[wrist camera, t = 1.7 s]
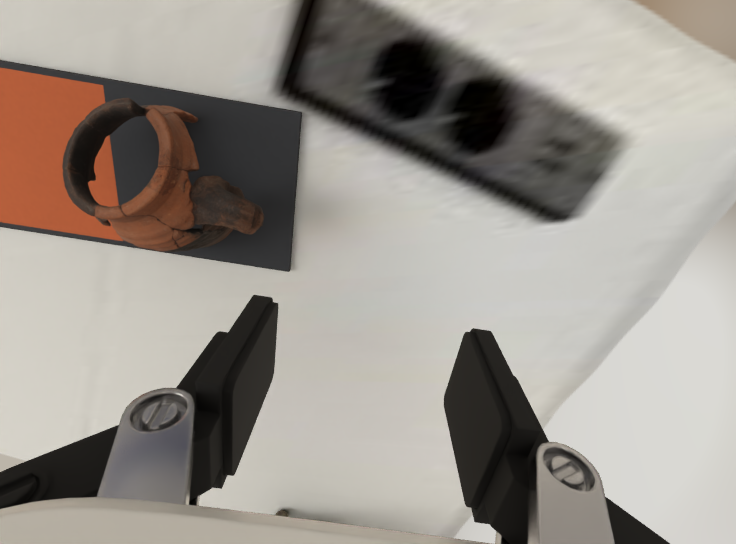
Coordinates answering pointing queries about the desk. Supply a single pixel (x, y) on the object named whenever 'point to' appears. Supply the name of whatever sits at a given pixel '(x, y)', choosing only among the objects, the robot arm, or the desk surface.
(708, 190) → the desk surface
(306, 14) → the desk surface
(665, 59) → the desk surface
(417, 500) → the desk surface
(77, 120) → the desk mat
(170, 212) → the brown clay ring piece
